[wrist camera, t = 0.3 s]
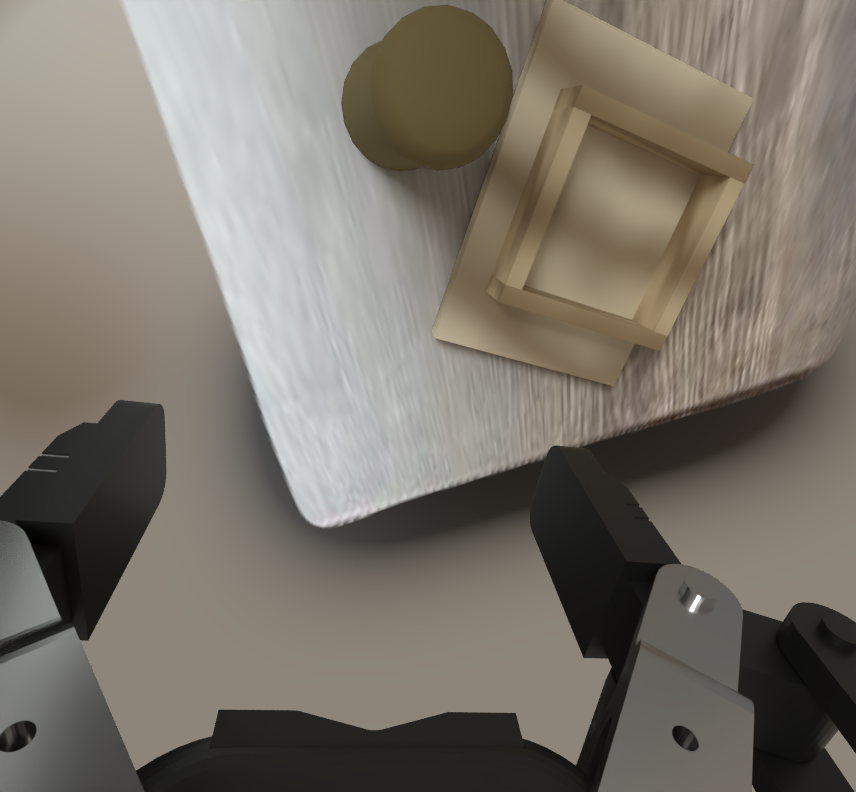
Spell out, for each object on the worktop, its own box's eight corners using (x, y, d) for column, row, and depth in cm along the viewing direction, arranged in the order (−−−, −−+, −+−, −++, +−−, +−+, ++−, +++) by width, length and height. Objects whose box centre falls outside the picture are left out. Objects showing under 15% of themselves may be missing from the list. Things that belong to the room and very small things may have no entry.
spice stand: (546, 0, 28) (577, -18, 24) (741, 99, 32) (789, 95, 28) (431, 332, 34) (444, 352, 30) (606, 380, 38) (634, 402, 34)
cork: (362, 184, 29) (392, 205, 20) (324, 56, 27) (336, 5, 17) (469, 152, 30) (549, 157, 20) (442, 23, 27) (521, -45, 17)
